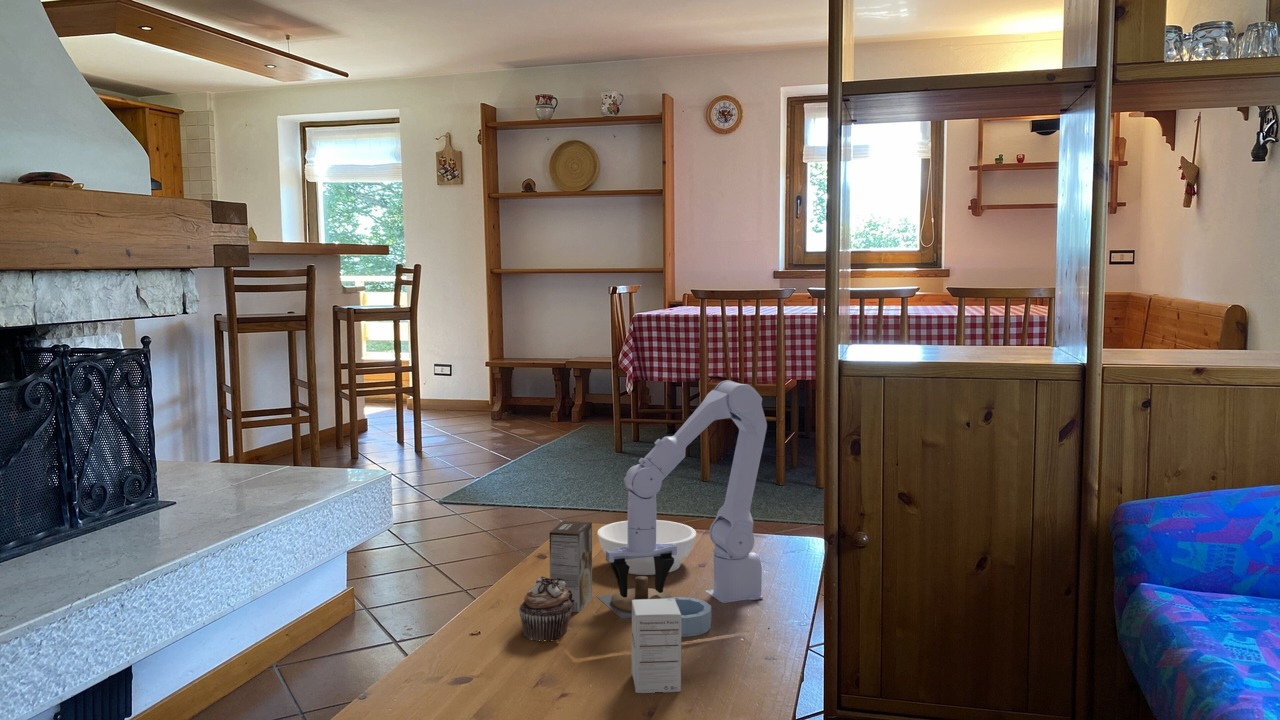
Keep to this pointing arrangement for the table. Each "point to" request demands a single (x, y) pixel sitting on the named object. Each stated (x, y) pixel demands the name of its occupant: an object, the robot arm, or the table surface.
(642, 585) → the lid
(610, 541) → the bowl
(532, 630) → the cupcake
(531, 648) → the table surface
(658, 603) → the supplement box
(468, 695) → the table surface
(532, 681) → the table surface
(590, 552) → the coffee box
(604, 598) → the mat
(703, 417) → the robot arm
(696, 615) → the small bowl
